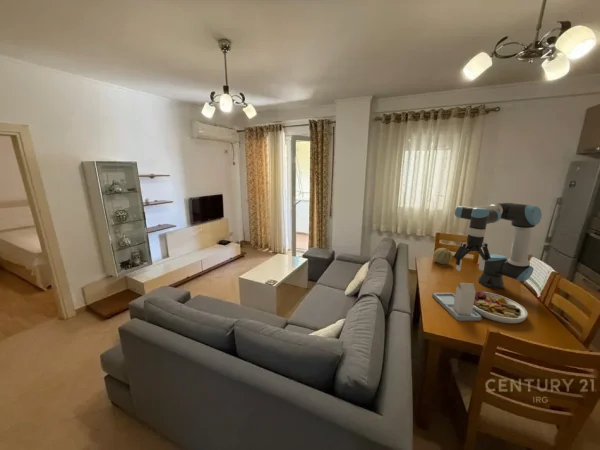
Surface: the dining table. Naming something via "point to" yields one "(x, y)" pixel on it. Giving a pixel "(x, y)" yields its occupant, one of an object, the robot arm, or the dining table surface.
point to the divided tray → (448, 304)
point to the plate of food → (498, 308)
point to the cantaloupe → (442, 255)
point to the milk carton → (464, 298)
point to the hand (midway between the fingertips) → (469, 269)
